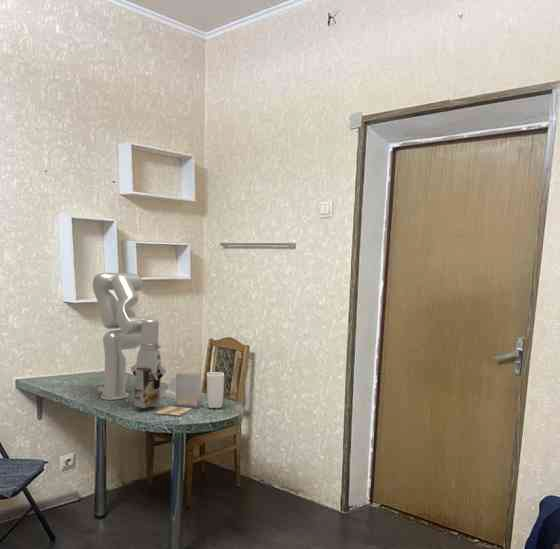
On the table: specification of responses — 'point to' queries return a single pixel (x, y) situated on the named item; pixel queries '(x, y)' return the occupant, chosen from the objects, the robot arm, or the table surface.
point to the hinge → (171, 389)
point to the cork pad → (172, 411)
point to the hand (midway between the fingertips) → (147, 387)
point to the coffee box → (145, 389)
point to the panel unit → (188, 390)
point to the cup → (215, 389)
